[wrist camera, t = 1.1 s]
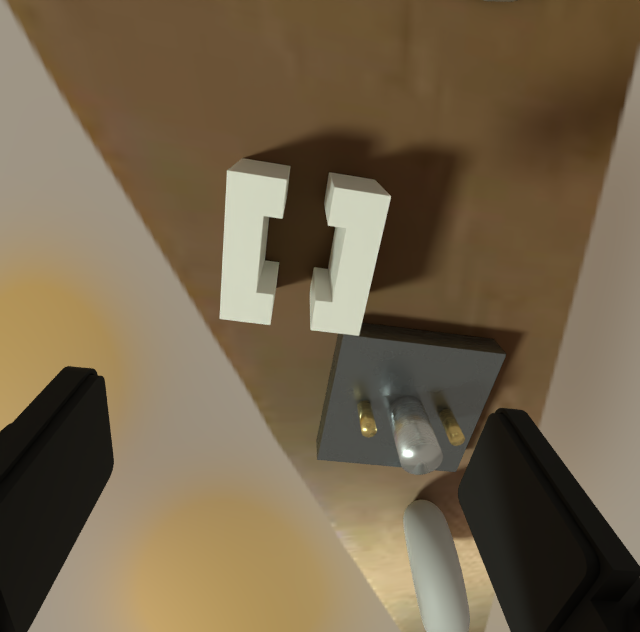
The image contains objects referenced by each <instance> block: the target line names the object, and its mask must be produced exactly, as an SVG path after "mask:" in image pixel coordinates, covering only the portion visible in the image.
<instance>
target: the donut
mask: <svg viewBox="0 0 640 632" xmlns="http://www.w3.org/2000/svg"><path fill="white" fill-rule="evenodd" d="M403 522H404V532H405V539H406V545H407V550H408V556H409V561H410V567H411V572H412V577H413V582H414V587H415V592H416V597H417V601H418V606H419V610H420V614H421V618H422V621H423V625H424V628H425V630H426V632H468V631H469V623H470V615H469V606H468V600H467V595H466V589H465V584H464V579H463V575H462V570H461V566H460V562H459V559H458V555H457V551H456V548H455V544H454V541H453V538H452V535H451V532H450V529H449V526H448V523H447V521H446V519H445V517H444V514H443V513H442V512H441V510H440V509H439V508H438V507H437V506H436V505H435V504H433V503H432V502H430V501H427V500H416V501H413V502H412V503H411V504H409V505H408V507H407V508H406V510H405V513H404V517H403Z"/></svg>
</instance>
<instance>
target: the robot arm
mask: <svg viewBox="0 0 640 632" xmlns="http://www.w3.org/2000/svg"><path fill="white" fill-rule="evenodd" d="M484 1H502V2H512V1H517V0H484ZM113 464H114V458H113V449H112V440H111V432H110V423H109V414H108V406H107V396H106V387H105V380H104V378H103V376H98V375H97V372H96V370H95V369H91V368H81V367H71V366H68V367H65V368H64V369H62V370H61V371H60V373H59V374H58V375H57V376H56V377H55V378H54V379H53V380H52V381H51V382H50V383H49V384H48V385H47V386H46V387H45V388H44V390H43V391H42V392H41V393H40V394H39V395H38V396H37V397H36V398H35V399H34V400H33V401H32V402H31V403H30V404H29V406H28V407H27V408H26V409H25V410H24V411H23V412H22V413H21V414H20V415H19V416H18V417H17V419H16V420H15V421H14V422H13V423H11V424H9V425H7V426H6V427H5V428H4V429H3V430H1V431H0V632H27V631H28V630H29V628H30V626H31V624H32V623H33V621H34V619H35V617H36V615H37V613H38V611H39V609H40V608H41V606H42V604H43V602H44V600H45V598H46V596H47V594H48V592H49V591H50V589H51V587H52V585H53V583H54V581H55V579H56V577H57V576H58V573H59V572H60V570H61V568H62V566H63V564H64V562H65V561H66V559H67V557H68V555H69V553H70V551H71V549H72V547H73V545H74V543H75V542H76V540H77V538H78V536H79V534H80V532H81V530H82V528H83V527H84V525H85V523H86V521H87V519H88V517H89V515H90V513H91V512H92V510H93V508H94V506H95V504H96V502H97V500H98V498H99V497H100V495H101V493H102V491H103V489H104V487H105V485H106V483H107V482H108V480H109V478H110V475H111V473H112V470H113ZM458 498H459V502H460V505H461V507H462V510H463V512H464V515H465V517H466V520H467V522H468V525H469V527H470V530H471V532H472V535H473V537H474V540H475V543H476V545H477V548H478V550H479V553H480V555H481V558H482V560H483V563H484V565H485V568H486V570H487V573H488V575H489V578H490V580H491V583H492V585H493V588H494V591H495V593H496V596H497V598H498V601H499V603H500V606H501V608H502V611H503V613H504V616H505V618H506V621H507V623H508V626H509V628H510V631H511V632H640V566H639V565H638V564H637V562H636V561H635V559H634V558H633V557H632V555H631V554H630V553H629V551H628V550H627V549H626V547H625V546H624V544H623V543H622V542H621V540H620V539H619V537H617V535H616V533H615V532H614V531H613V529H612V528H611V527H610V525H609V524H608V523H607V521H606V520H605V519H604V517H603V516H602V514H601V513H600V512H599V510H598V509H597V508H596V507H595V505H594V504H593V502H592V501H591V499H590V498H589V497H588V496H587V494H586V493H585V491H584V490H583V489H582V487H581V486H580V485H579V483H578V482H577V481H576V479H575V478H574V476H573V475H572V474H571V472H570V471H569V470H568V468H567V467H566V466H565V464H564V463H563V461H562V460H561V459H560V457H559V456H558V455H557V453H556V452H555V451H554V449H553V448H552V446H551V445H550V444H549V443H548V441H547V440H546V438H545V437H544V436H543V434H542V433H541V432H540V430H539V429H538V427H537V426H536V425H535V423H534V422H533V421H532V419H531V418H530V417H529V415H528V414H527V413H526V412H525V411H523V410H517V409H507V408H499V409H498V410H496V412H495V413H492V414H490V415H489V417H488V419H487V422H486V424H485V426H484V429H483V431H482V433H481V436H480V438H479V440H478V443H477V445H476V447H475V450H474V452H473V455H472V457H471V459H470V462H469V464H468V466H467V469H466V471H465V473H464V476H463V478H462V480H461V483H460V485H459V488H458Z"/></svg>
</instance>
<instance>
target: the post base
mask: <svg viewBox="0 0 640 632" xmlns="http://www.w3.org/2000/svg"><path fill="white" fill-rule="evenodd" d="M505 357H506V353H505V352H504V351H503V350H502V348H501V347H500V346H499V345H498V344H497V342H496V341H495V340H494V339H488V338H480V337H472V336H465V335H457V334H449V333H441V332H433V331H425V330H417V329H409V328H401V327H393V326H385V325H377V324H369V323H362V325H361V329H360V334H359V336H356V335H348V334H340V333H338V338H337V342H336V347H335V352H334V357H333V362H332V367H331V372H330V377H329V382H328V387H327V392H326V396H325V401H324V406H323V411H322V416H321V421H320V426H319V431H318V436H317V460H327V461H338V462H349V463H360V464H371V465H383V466H394V467H402V468H403V469H404V470H405V471H407V472H408V473H411V474H416V475H421V474H426V473H430V472H432V471H434V470H438V471H449V472H456V470H457V468H458V466H459V463H460V461H461V459H462V456H463V454H464V452H465V449H466V447H467V445H468V442H469V440H470V438H471V435H472V433H473V431H474V429H475V426H476V424H477V422H478V419H479V417H480V415H481V412H482V410H483V408H484V405H485V403H486V401H487V398H488V396H489V394H490V391H491V389H492V387H493V384H494V382H495V380H496V377H497V375H498V373H499V371H500V368H501V366H502V364H503V361H504V359H505Z"/></svg>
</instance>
